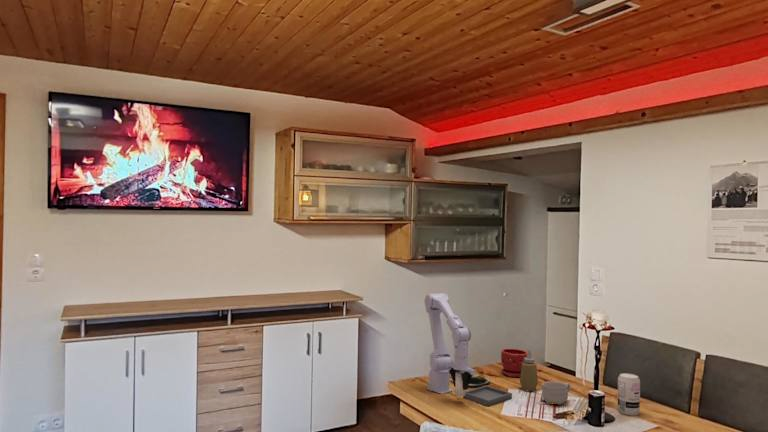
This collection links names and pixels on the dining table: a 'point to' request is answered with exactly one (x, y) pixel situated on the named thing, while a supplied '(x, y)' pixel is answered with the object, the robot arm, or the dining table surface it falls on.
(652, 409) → the dining table surface
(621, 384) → the supplement can
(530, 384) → the squeeze bottle
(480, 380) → the salad plate
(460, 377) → the salt shaker
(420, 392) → the dining table surface
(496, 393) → the tray
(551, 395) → the teacup
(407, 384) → the dining table surface
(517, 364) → the plant pot
